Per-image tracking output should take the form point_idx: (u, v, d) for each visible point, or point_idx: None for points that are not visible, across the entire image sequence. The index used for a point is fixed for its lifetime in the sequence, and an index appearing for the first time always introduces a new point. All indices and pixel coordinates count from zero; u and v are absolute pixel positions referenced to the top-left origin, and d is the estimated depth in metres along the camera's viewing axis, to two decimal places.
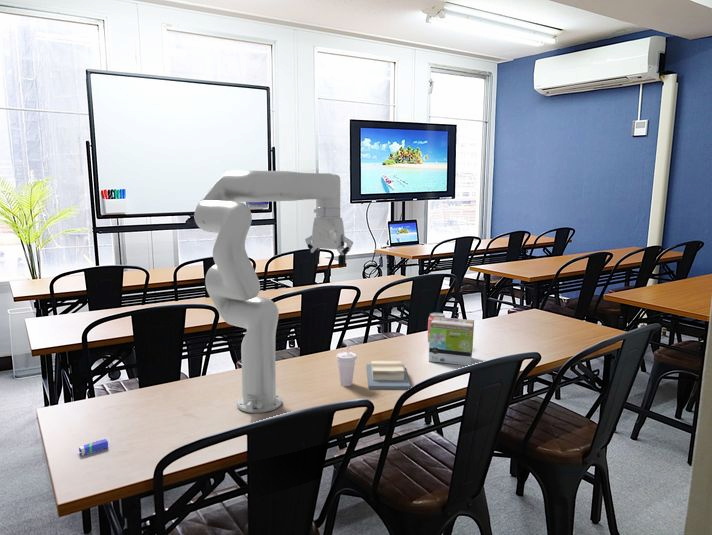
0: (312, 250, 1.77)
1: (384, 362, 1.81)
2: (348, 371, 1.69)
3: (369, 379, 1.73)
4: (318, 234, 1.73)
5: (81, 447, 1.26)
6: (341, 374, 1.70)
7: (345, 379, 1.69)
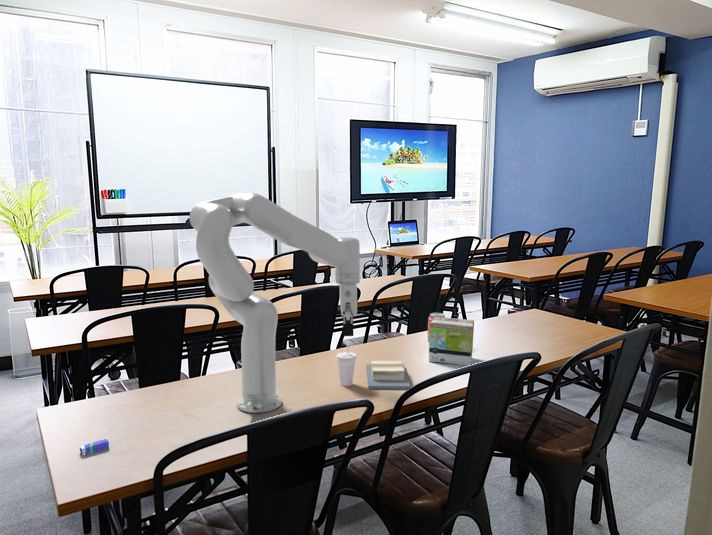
0: None
1: (384, 362, 1.81)
2: (348, 371, 1.69)
3: (369, 379, 1.73)
4: None
5: (82, 447, 1.26)
6: (341, 374, 1.70)
7: (345, 379, 1.69)
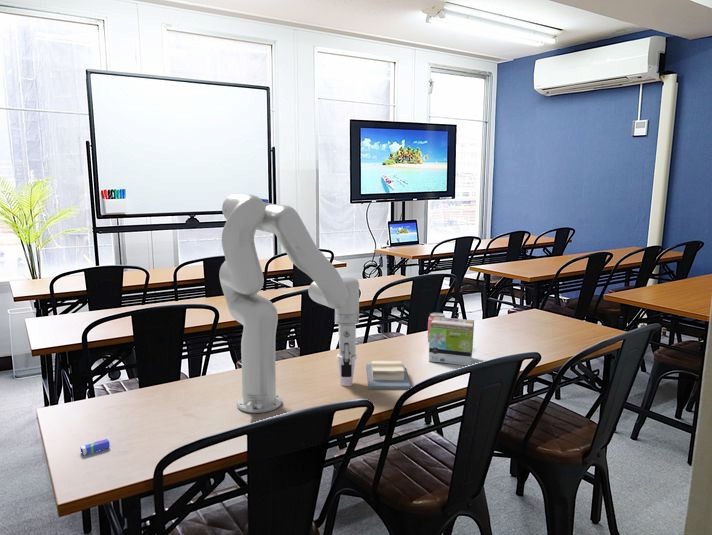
0: (350, 362, 1.67)
1: (384, 362, 1.81)
2: None
3: (369, 379, 1.73)
4: (355, 340, 1.67)
5: (83, 447, 1.26)
6: None
7: (346, 379, 1.69)
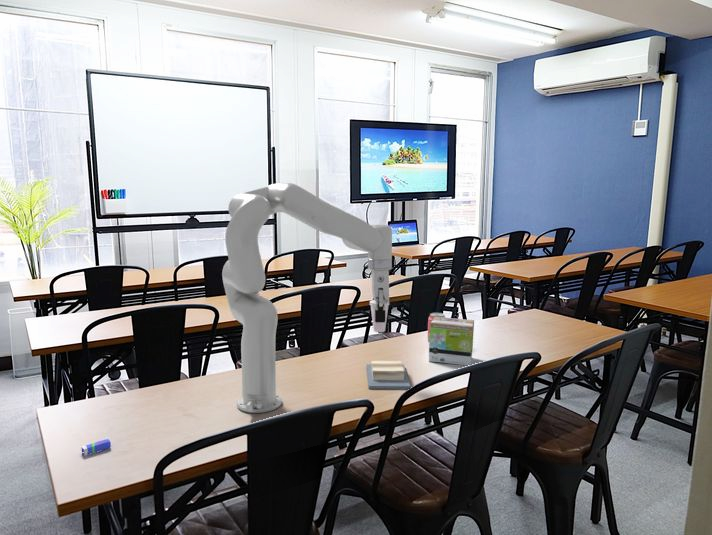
0: (384, 307, 1.69)
1: (384, 362, 1.81)
2: None
3: (369, 379, 1.73)
4: None
5: (84, 447, 1.26)
6: None
7: (379, 325, 1.72)
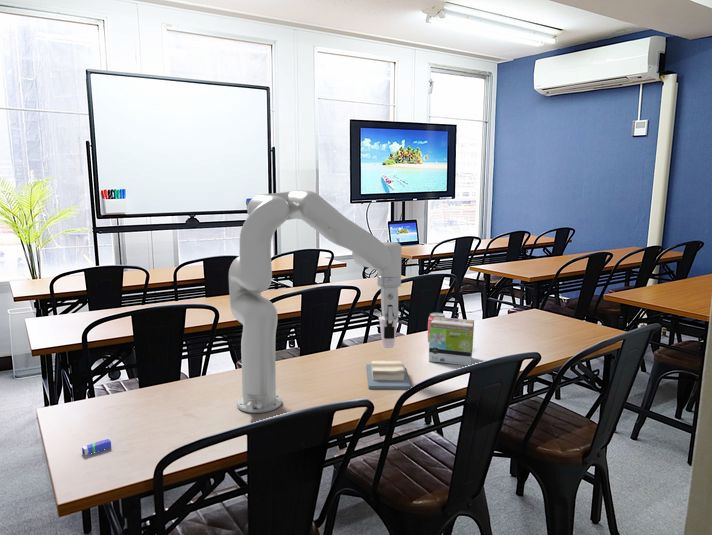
0: (393, 324, 1.71)
1: (384, 362, 1.81)
2: None
3: (369, 379, 1.73)
4: None
5: (84, 447, 1.26)
6: None
7: (388, 341, 1.74)
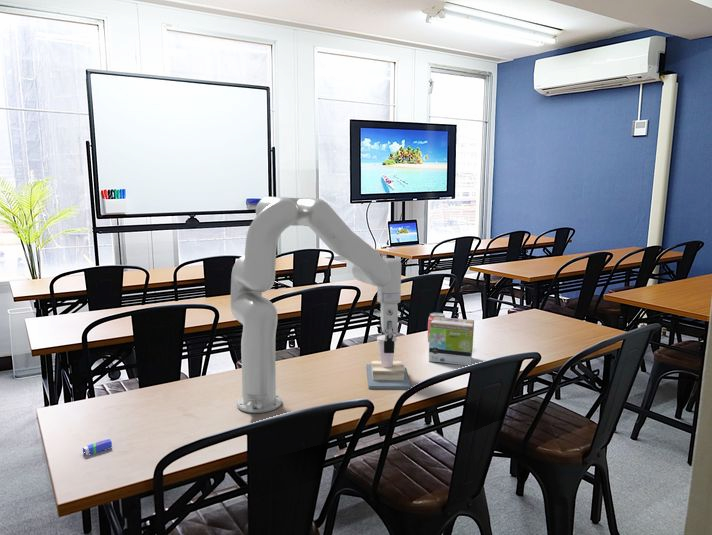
0: (393, 338, 1.71)
1: None
2: (389, 353, 1.74)
3: (369, 379, 1.73)
4: None
5: (85, 447, 1.26)
6: (382, 356, 1.75)
7: (387, 360, 1.75)
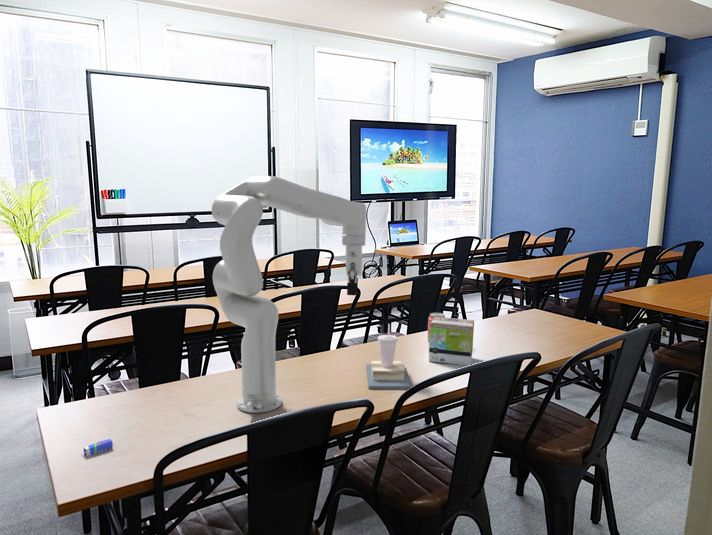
0: (356, 280, 1.72)
1: None
2: (390, 353, 1.74)
3: (369, 379, 1.73)
4: (361, 262, 1.74)
5: (86, 447, 1.26)
6: (382, 356, 1.75)
7: (387, 360, 1.75)
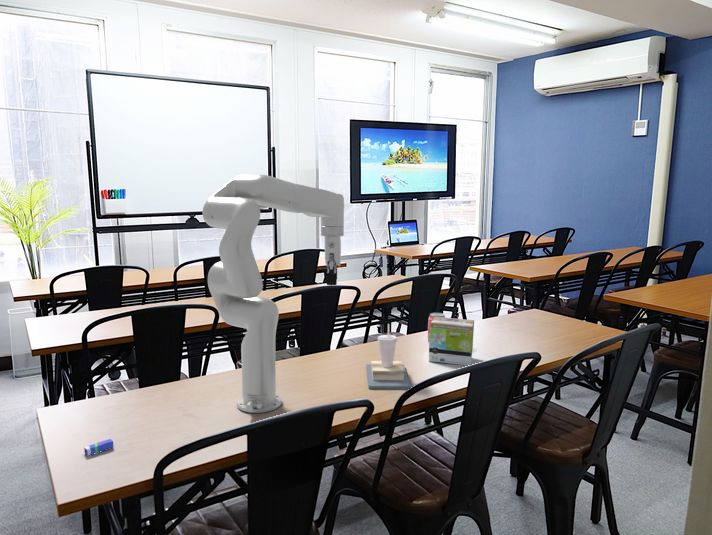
0: (335, 270, 1.75)
1: None
2: (390, 353, 1.74)
3: (369, 379, 1.73)
4: (340, 252, 1.77)
5: (87, 448, 1.26)
6: (382, 356, 1.75)
7: (387, 361, 1.75)
